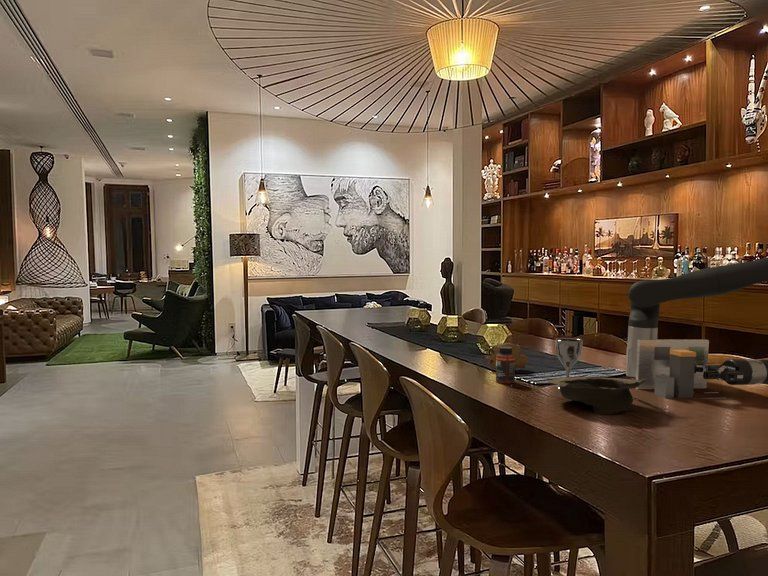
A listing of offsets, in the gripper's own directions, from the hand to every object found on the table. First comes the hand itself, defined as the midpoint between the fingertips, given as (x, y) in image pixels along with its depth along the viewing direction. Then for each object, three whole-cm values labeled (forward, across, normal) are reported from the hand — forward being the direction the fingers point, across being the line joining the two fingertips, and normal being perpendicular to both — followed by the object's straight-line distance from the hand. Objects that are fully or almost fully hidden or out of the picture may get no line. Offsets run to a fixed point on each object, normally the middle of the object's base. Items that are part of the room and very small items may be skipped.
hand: (693, 372), depth 167 cm
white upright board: (0, -3, +8) cm, 8 cm away
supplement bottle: (+47, -26, +8) cm, 54 cm away
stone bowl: (+33, +4, +8) cm, 35 cm away
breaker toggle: (+4, 0, +7) cm, 8 cm away
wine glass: (+30, -17, +8) cm, 36 cm away
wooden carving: (+39, -46, +8) cm, 61 cm away
